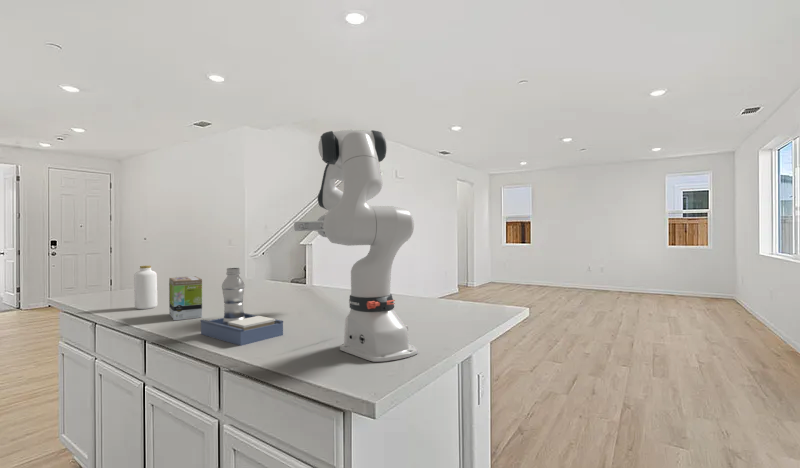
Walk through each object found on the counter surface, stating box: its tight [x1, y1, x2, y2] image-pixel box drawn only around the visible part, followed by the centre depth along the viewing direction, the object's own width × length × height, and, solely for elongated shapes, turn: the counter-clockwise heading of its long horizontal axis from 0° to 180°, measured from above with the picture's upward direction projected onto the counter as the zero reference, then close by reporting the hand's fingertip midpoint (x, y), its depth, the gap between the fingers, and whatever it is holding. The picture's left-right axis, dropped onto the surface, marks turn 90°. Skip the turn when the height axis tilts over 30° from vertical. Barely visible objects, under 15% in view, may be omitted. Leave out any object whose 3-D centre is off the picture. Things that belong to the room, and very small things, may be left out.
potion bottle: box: [133, 265, 158, 310], centre depth 178 cm, size 8×8×18 cm
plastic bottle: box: [221, 267, 245, 326], centre depth 130 cm, size 6×7×20 cm
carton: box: [228, 315, 276, 331], centre depth 124 cm, size 8×10×5 cm
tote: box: [200, 312, 284, 347], centre depth 127 cm, size 22×14×5 cm, turn 52°
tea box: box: [168, 275, 203, 321], centre depth 160 cm, size 15×10×15 cm, turn 34°
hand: (310, 225), depth 150 cm, fingers open, 8 cm apart
